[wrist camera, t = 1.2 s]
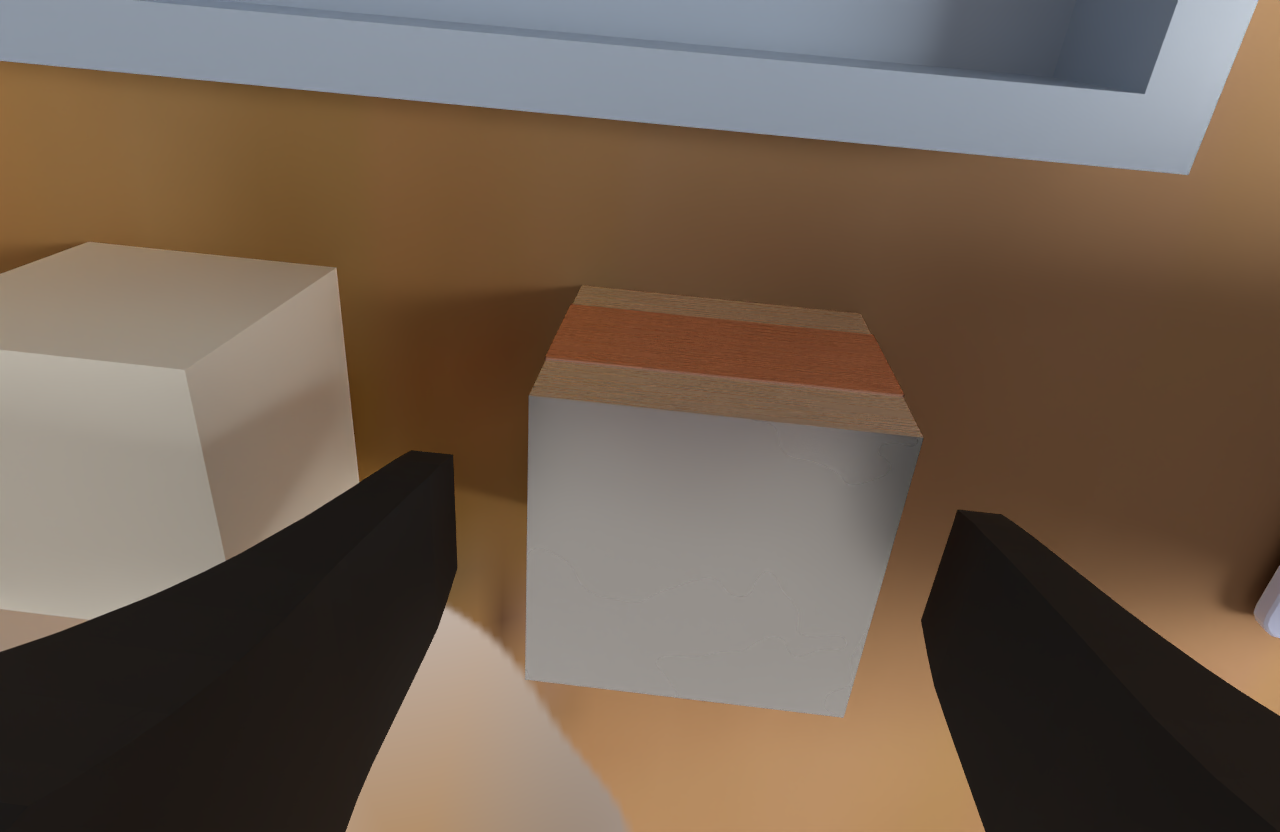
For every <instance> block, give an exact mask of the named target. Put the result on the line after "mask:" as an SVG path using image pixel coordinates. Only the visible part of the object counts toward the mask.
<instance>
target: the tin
mask: <svg viewBox="0 0 1280 832" xmlns="http://www.w3.org/2000/svg"><path fill="white" fill-rule="evenodd" d="M922 442H923V436H922V434H921V432H920V430H919V428H918V426H917V424H916V422H915V420H914V418H913V416H912V414H911V412H910V410H909V408H908V406H907V404H906V402H905V400H904V393H903V391H902V389H901V388H900V386H899V384H898V382H897V380H896V378H895V376H894V374H893V372H892V370H891V368H890V366H889V364H888V362H887V360H886V358H885V356H884V355H883V353H882V351H881V349H880V347H879V345H878V343H877V341H876V339H875V337H874V335H871V333H870V331H869V329H868V327H867V325H866V323H865V321H864V320H863V318H862V316H861V314H860V313H851V312H841V311H831V310H821V309H812V308H802V307H792V306H782V305H772V304H763V303H753V302H743V301H733V300H723V299H713V298H704V297H694V296H684V295H674V294H664V293H654V292H645V291H635V290H625V289H615V288H605V287H596V286H586V285H582V286H581V288H580V290H579V292H578V294H577V296H576V298H575V300H574V302H573V304H571V305H570V307H569V309H568V311H567V313H566V315H565V317H564V319H563V321H562V323H561V325H560V327H559V330H558V332H557V334H556V336H555V338H554V340H553V342H552V344H551V346H550V348H549V350H548V352H547V354H546V356H545V363H544V365H543V367H542V369H541V371H540V373H539V375H538V378H537V380H536V382H535V384H534V386H533V388H532V390H531V392H530V394H529V423H528V502H527V581H526V660H525V680H534V681H542V682H550V683H559V684H567V685H575V686H584V687H592V688H600V689H609V690H617V691H625V692H634V693H642V694H650V695H659V696H667V697H675V698H684V699H692V700H700V701H709V702H717V703H725V704H734V705H742V706H751V707H759V708H767V709H776V710H784V711H792V712H801V713H809V714H817V715H826V716H834V717H842V718H844V714H845V711H846V707H847V704H848V700H849V697H850V693H851V690H852V686H853V683H854V679H855V676H856V672H857V669H858V665H859V662H860V658H861V655H862V651H863V648H864V644H865V641H866V637H867V634H868V630H869V627H870V623H871V620H872V616H873V613H874V609H875V606H876V602H877V599H878V595H879V592H880V588H881V585H882V581H883V578H884V574H885V571H886V567H887V564H888V560H889V557H890V553H891V550H892V546H893V543H894V539H895V536H896V532H897V529H898V525H899V522H900V518H901V515H902V511H903V508H904V504H905V501H906V498H907V494H908V491H909V487H910V484H911V480H912V477H913V473H914V470H915V466H916V463H917V459H918V456H919V452H920V449H921V445H922Z"/></svg>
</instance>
